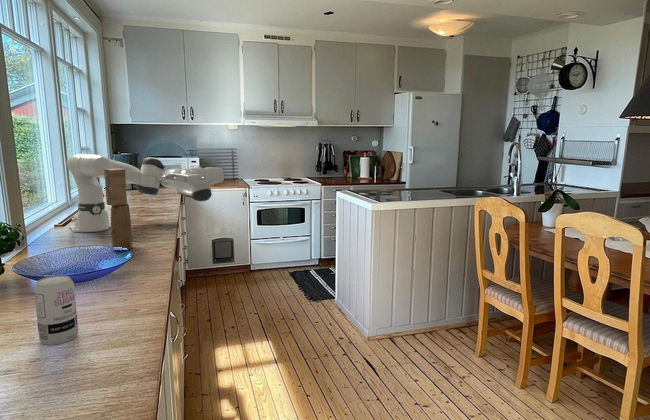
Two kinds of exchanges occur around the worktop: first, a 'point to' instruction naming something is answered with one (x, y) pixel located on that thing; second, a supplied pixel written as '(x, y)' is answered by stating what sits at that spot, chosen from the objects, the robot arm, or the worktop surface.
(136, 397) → the worktop surface
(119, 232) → the block
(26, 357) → the worktop surface
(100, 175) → the robot arm
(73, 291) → the supplement can
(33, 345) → the worktop surface
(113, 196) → the walnut block
